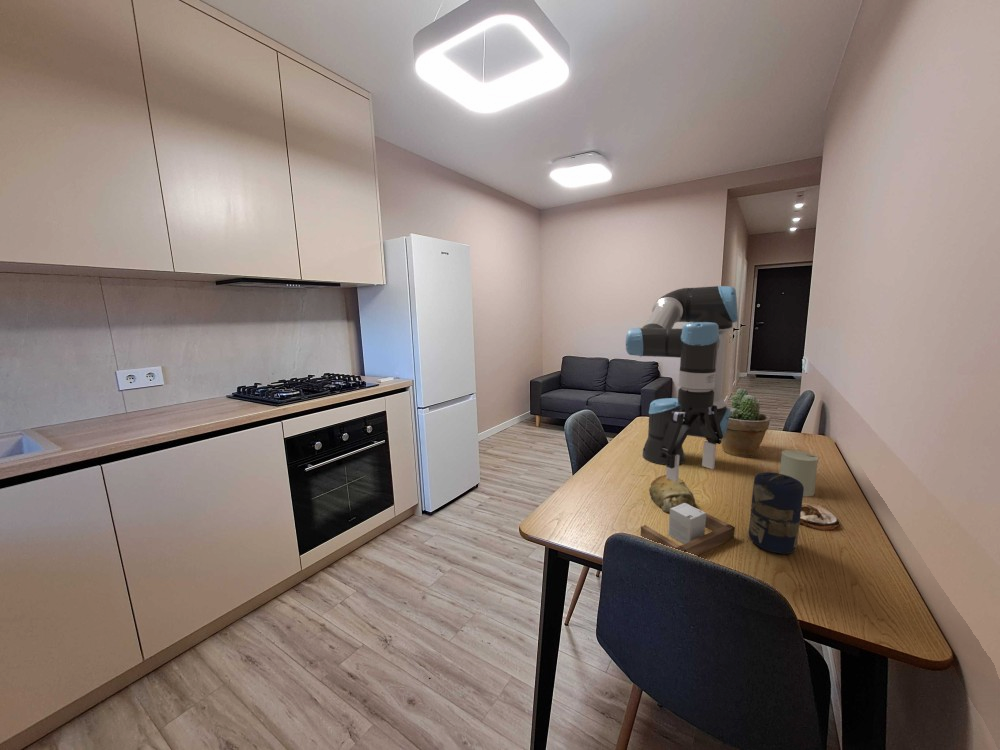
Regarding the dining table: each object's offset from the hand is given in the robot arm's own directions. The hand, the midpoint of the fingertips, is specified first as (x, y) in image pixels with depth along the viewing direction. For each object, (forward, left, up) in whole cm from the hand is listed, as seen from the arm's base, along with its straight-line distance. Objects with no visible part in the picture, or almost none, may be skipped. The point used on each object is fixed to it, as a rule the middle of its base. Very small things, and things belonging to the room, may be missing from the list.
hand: (690, 473), depth 92 cm
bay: (0, 0, -17) cm, 17 cm away
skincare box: (0, 0, -17) cm, 17 cm away
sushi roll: (+10, +37, -18) cm, 42 cm away
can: (0, +53, -17) cm, 55 cm away
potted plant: (-28, +71, -17) cm, 78 cm away
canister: (+12, +15, -17) cm, 26 cm away
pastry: (-14, +12, -17) cm, 25 cm away
